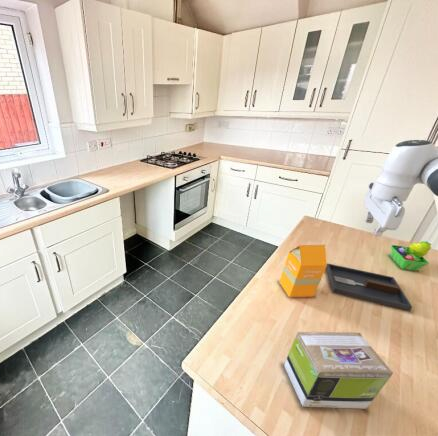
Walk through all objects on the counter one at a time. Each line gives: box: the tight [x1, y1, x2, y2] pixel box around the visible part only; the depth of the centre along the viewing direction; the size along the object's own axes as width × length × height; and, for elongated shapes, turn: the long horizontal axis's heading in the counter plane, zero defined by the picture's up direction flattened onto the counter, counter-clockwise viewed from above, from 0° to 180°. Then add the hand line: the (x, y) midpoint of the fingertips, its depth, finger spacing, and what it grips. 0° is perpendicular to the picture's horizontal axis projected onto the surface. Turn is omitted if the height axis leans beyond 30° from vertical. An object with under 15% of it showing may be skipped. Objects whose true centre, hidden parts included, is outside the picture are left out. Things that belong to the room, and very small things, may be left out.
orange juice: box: [279, 244, 328, 298], centre depth 85 cm, size 8×9×20 cm
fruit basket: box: [389, 240, 432, 272], centre depth 99 cm, size 11×9×11 cm
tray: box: [325, 262, 413, 312], centre depth 90 cm, size 21×15×2 cm
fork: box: [334, 276, 401, 294], centre depth 90 cm, size 18×3×3 cm, turn 66°
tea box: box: [283, 331, 394, 410], centre depth 58 cm, size 15×10×15 cm, turn 88°
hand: (372, 228), depth 85 cm, fingers open, 8 cm apart
